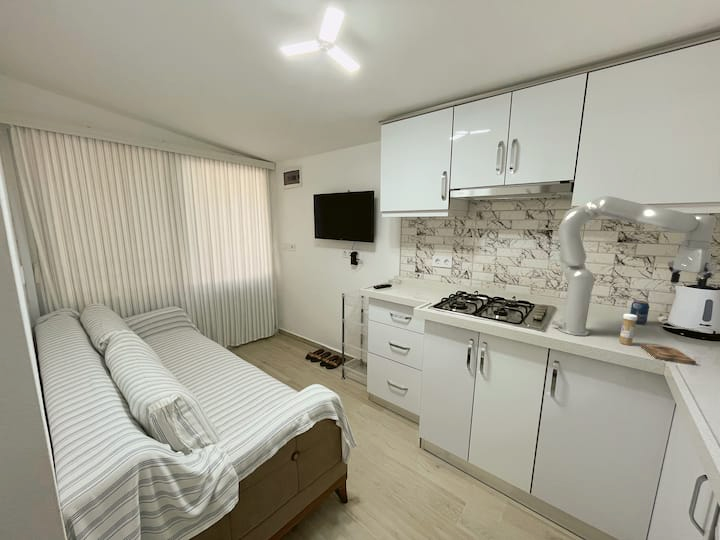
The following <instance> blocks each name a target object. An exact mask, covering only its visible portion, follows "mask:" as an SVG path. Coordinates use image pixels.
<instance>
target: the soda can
mask: <svg viewBox="0 0 720 540" xmlns="http://www.w3.org/2000/svg"><path fill="white" fill-rule="evenodd" d="M630 307H631V308H630V313H629V314H633V315H636V316H637V320H636V325H639V326H644V325H645V324H647V321H648V316H649V310H650V304H649V302H648V301H644V300H633V302H632V303H631V306H630Z"/></svg>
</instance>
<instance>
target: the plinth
mask: <svg viewBox="0 0 720 540" xmlns="http://www.w3.org/2000/svg"><path fill="white" fill-rule="evenodd" d="M639 346H640V347H641V348H642V349H644V350H645V351H646V352H647V353H646V352H645V351H644V350H643V351H644V352H645V353H646V354H648V353H649V354H650V355H651V356H650V355H649V354H648V355H649V356H650V357H652V356H653V357H654V358H655V359H660V360H659V361H662V360H665V362H669V361H670V363H678V364H684V365H692V366H696V364H697V362H696V360H694V359H693V358H691V357H689V356H688V355H687V354H685V353H684V352H682V351H681V350H679V349H677V348H675V347H669V346H662V345H661V346H660V345H655V344H654V345H653V344H640V345H639ZM640 347H639V348H640ZM641 348H640V349H641ZM642 349H641V350H642ZM653 357H652V358H653ZM654 358H653V359H654ZM655 359H654V360H655Z"/></svg>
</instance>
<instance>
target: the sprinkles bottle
mask: <svg viewBox="0 0 720 540" xmlns="http://www.w3.org/2000/svg"><path fill="white" fill-rule="evenodd" d="M622 317H623V319H622V324H621V325H622V326H621V328H620V329H621V330H620V334H619V335H620V336H619V340H618V342H619V343H620V344H622V345H625V344H626V345H625V346H632V345H633V340H634V336H635V329H636V325H637V324H636V320H637V316H636V315H633V314H630V313H623V315H622Z"/></svg>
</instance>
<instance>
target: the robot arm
mask: <svg viewBox="0 0 720 540" xmlns="http://www.w3.org/2000/svg"><path fill="white" fill-rule="evenodd" d="M602 216H604V217H608V218H612V219H616V220H621V221H624V222H628V223H632V224H637V225H647V226H652V227H658V228H661V229H662V230H664V231H666V232H669V233H680V234H681V233H682V234H683V233H684V239H683V241H681V242H680V244H681V245H682V247H679V248H678V250H677V253H676V254H675V258H674V260H672V261H669V262H667V266H668V270H669V271H670V274H671V278H670V283H672V284H675V283H676V284H678V283H679V282H680V278H681V274H680V273H681V272H686V273H692V274H698V276H699V278H698V279H697V282H696V283H697V284H696V288H698V289H705V288H706V286H707V282H708V279H709V280H710V279H711V278H712V277H715V274H717V273H718V271H719V269H718V268H717V267H715V266H713V265H711V260H712V251H711V249H710V247H711V243H712V238H713V233H714V229H715V225H716V222H717V217H716V216H714V215H709V214H708V215H705V214H704V215H703V214H700V215H699V214H695V215H693V214H691V213H687V212H682V211H679V210H674V209H669V208H665V207H660V206H653V205H652V204H651V205H650V204H645V203H641V202H635V201H631V200H626V199H624V198H620V197H619V198H618V197H615V196H609V195H607V196H601V197H598V198H595V199H593V200H590V201H588V202H586V203H583V204H581V205H578V206H576V207H573V208H570V209H568V210H567V211H566V212H565V213H564V215H563V219H562V220H561V221H560V222H561V223H560V224H559V227H558V230H557V231H558V232H557V233H558V234H557V235H558V240H559V241H558V242H559V246H560V248H561V249H560V251H559V261H560V264H561V268H562V272H563V275H564V278H565V280H566V281H567V282H568V286H567V289H566V292H565V293H566V294H565V302H564V308H563V314H562V315H563V316H562V318H561V319H560V320H557V321H556V320H551V321H550V325H554V327H555V326H556V327H557V329H558V330H559V331H560V332H563V333H565V334H568V335H572V336H578V337H579V336H580V337H586V336H588V335H590V331H589V330H588V329H586V327H587V321H588V315H589V310H590V309H589V308H590V303H591V295H592V292H593V288H594V285H595V276H594V273H593V272H592V271H591V270H589V269H587V268H586V265H585V262H586V261H587V253H586V251H585V248H584V244H583V241H582V237H581V230H582V227H584V225H585V224H586V223H588V221H591V220H594V219H597V218H599V217H602Z"/></svg>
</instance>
